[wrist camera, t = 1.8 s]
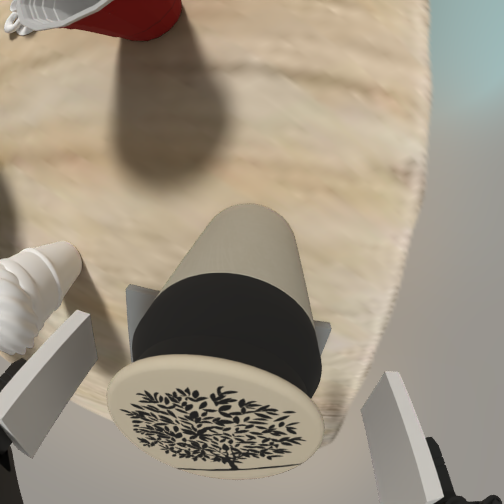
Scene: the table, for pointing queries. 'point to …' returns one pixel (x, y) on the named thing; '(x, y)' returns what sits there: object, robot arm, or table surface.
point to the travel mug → (227, 356)
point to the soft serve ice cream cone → (33, 291)
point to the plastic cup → (102, 16)
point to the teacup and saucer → (17, 25)
